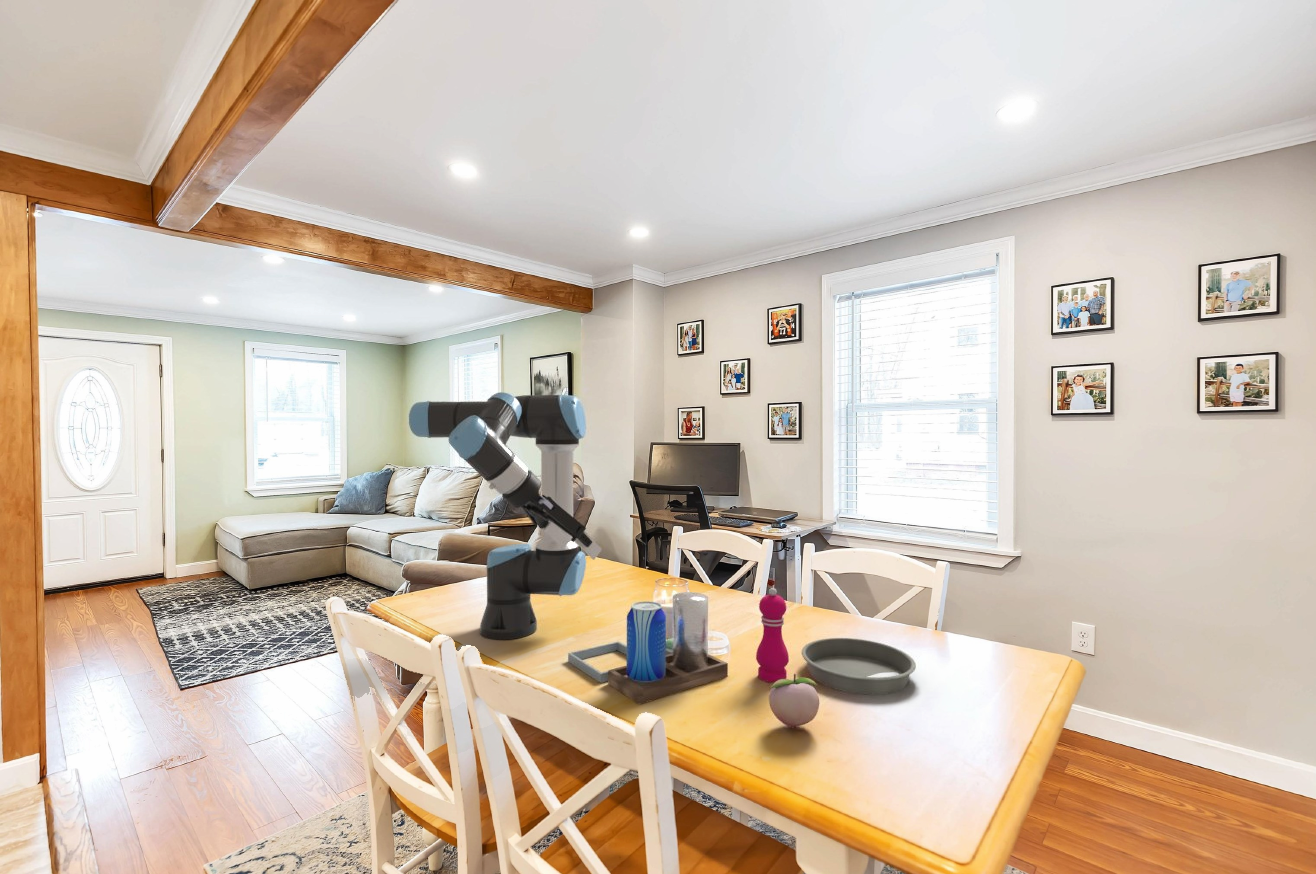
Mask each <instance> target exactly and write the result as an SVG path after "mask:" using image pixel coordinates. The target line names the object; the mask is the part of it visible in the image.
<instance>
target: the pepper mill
mask: <svg viewBox="0 0 1316 874" xmlns="http://www.w3.org/2000/svg"><path fill="white" fill-rule="evenodd" d="M758 606H759V607H758V608H759V611H760V613H761V614H762V615H761V617H760V618H761V621H760V622H761V624H762V627H763V632H762V633H763V634H762V638H761V640H760V643H759V645H758V647H757V649H756V653H755V660H756V662H757V664H758V665H759V667H758V669H757V670H758V671H757V673H758V675H757V676H758V678H759V679H760V680H762V681H764V682H767V683H773V684H774V683H775V682H776V681H778V680H780V679H788V678H787V672H788V671H787V669H786V666H787V665H789V664H788V663H789V661H790V659H789V656H790V655H789V652H788V649H787V646H786V644H785V642H784V639H783V634H782V628H783V625H784V624H785V621H784V620H785V617H784V615H785V614H786V611H787V603H786V601H785V599H784V598H783V597H782V596H780V595H777V589H776V588H774V587H772V588H769V590H768V594H766V595H764V596H763V597H762V598H761V599H760V600H759V604H758Z"/></svg>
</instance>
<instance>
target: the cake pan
mask: <svg viewBox="0 0 1316 874" xmlns="http://www.w3.org/2000/svg"><path fill="white" fill-rule="evenodd" d="M801 655H802V658H803V659H804V660H805V662H806V664H807V668H808V672H809V674H810V676H811V677H812V678H814V680H816V681H817V682H819V683H820V684H822V685H825V686H827V687H830V688H832V689H836V690H839V691H843V692H848V693H854V694H859V695H861V694H862V695H886V694H892V693H896V692H899V691H901V690H903V689H904V688H905V687H906V686H907V684H908V682H909V678H910V675H911V674H913V672H915V670H916V668H917V664H916V661H915V660H914V658H913V657H912V656H911V655H909V654H907V653H906V652H905V651H903V650H901V649H898V648H896V647H895V646H891V645H888V644H885V643H881V642H877V641H873V640H867V639H862V638H861V639H860V638H851V637H830V638H821V639H817V640H814V641H811V642H809V643H807V644H805V645H804V646H803V647H802V648H801ZM884 673H886V674H887V673H896V674H897V675H892V676H883V677H882V676H880V677H879V676H878V677H877V676H875V677H873V676H874V675H878V674H884Z"/></svg>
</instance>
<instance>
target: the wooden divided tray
mask: <svg viewBox="0 0 1316 874" xmlns="http://www.w3.org/2000/svg"><path fill="white" fill-rule="evenodd" d="M672 656H673V653H672V654H668V655H666V674H665V676H664V677H663V679H662V680H661V681H658V682H654V683H651V684H648V685H644V686H639V685H637V684H636V683H634V682H632V681H631V680H630V679H629V677H628V676H627V664H626V665H624V666H620V667H616V668H612V669H611V668H610V669H608V670H607V671H608V681H607V684H608V685H609V686H610V687H613V689H615V690H616V691H618V692H620V693H621V694H623V695H624V696H626V697H627V698H629V699H631V700H632V701H633V702H635V703H636V704H638V705H641V704H644V703H648V702H651V701H655V700H658V699H661V698H663V697H667V696H670V695H674V694H676V693H679V692H683V691H686V690H689V689H693V688H696V687H699V686H702V685H705V684H709V683H711V681H712V682H715V681H718V680H721V679H724V678H727V677H729V675H728V673H729V672H728V671H729V669H728V667H729V666H728V662H726V661H724V660H722V659H720V658H717V657H715V656H714V655H711V654H709V653H708V667H705V668H702V669H699V670H695V671H692V672H688V673H686V672H684V671H682V670H680V669H678V668H676V667H674V666H672ZM720 678H721V679H720ZM708 682H709V683H708ZM650 700H651V701H650ZM647 701H648V702H647Z"/></svg>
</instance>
